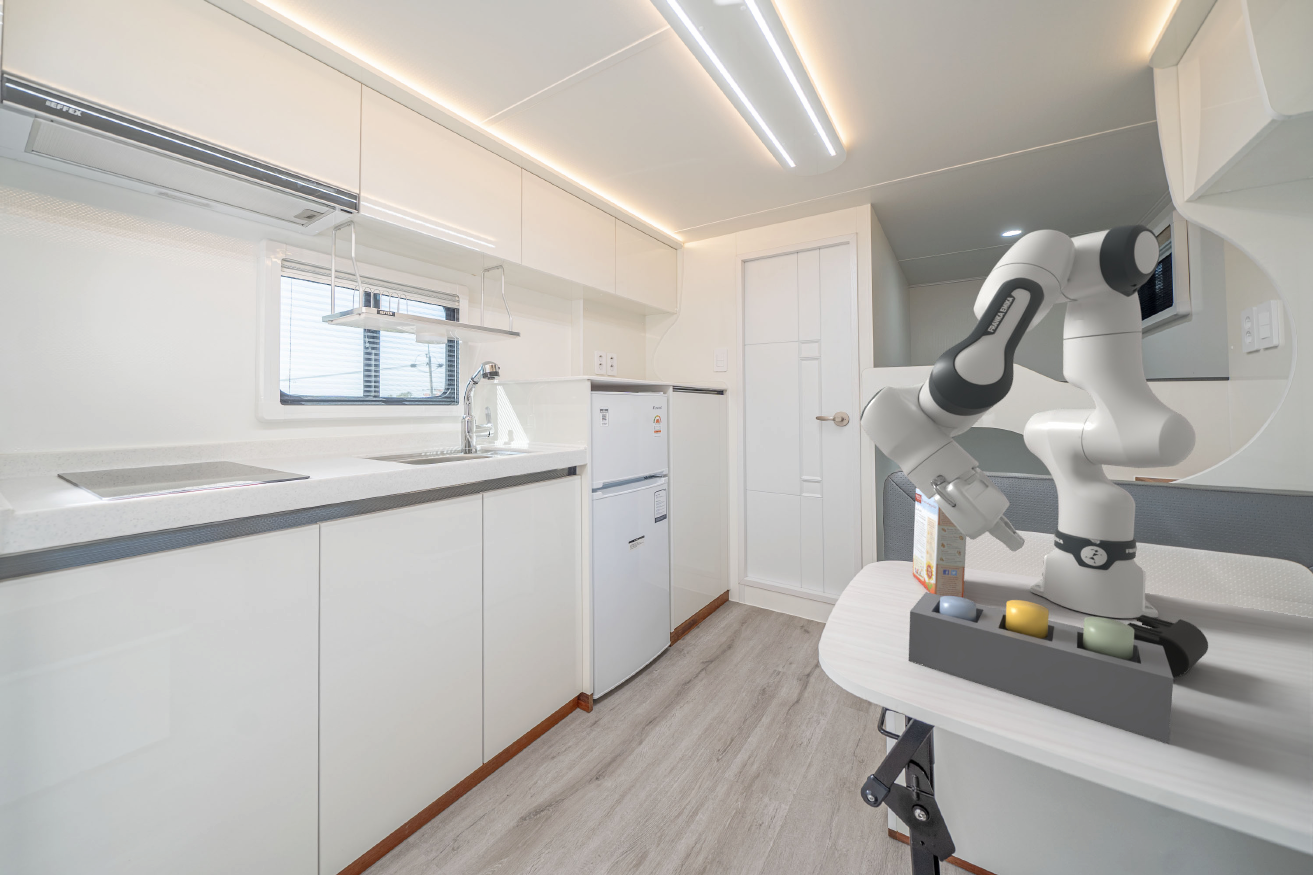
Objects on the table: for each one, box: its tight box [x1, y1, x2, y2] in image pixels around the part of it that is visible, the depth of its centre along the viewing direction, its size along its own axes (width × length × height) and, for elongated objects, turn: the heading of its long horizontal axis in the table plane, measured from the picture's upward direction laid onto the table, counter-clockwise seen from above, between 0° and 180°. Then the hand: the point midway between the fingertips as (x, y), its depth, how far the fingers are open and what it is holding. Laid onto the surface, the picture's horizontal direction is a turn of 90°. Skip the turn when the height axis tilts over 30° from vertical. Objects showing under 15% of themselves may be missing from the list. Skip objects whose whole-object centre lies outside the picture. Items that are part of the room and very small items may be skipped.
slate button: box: [939, 596, 977, 623], centre depth 75 cm, size 5×5×4 cm
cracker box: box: [912, 487, 967, 598], centre depth 104 cm, size 14×6×21 cm, turn 168°
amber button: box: [1005, 599, 1050, 639], centre depth 69 cm, size 5×5×4 cm
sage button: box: [1083, 616, 1134, 660], centre depth 63 cm, size 5×5×4 cm
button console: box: [908, 591, 1174, 745], centre depth 69 cm, size 10×28×8 cm, turn 48°
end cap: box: [1127, 615, 1209, 678], centre depth 72 cm, size 10×7×7 cm
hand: (1019, 547), depth 69 cm, fingers closed
